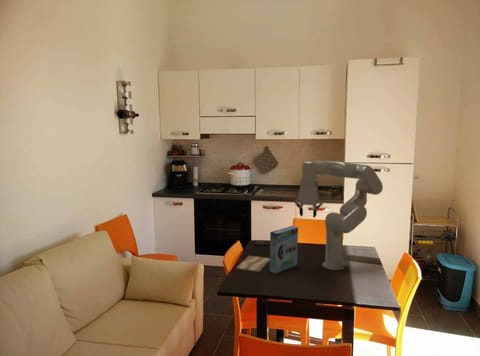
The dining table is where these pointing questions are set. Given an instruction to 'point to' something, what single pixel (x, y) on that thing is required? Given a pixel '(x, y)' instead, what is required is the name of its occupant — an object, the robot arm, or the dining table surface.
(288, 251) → the gum box
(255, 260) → the board
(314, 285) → the dining table surface
